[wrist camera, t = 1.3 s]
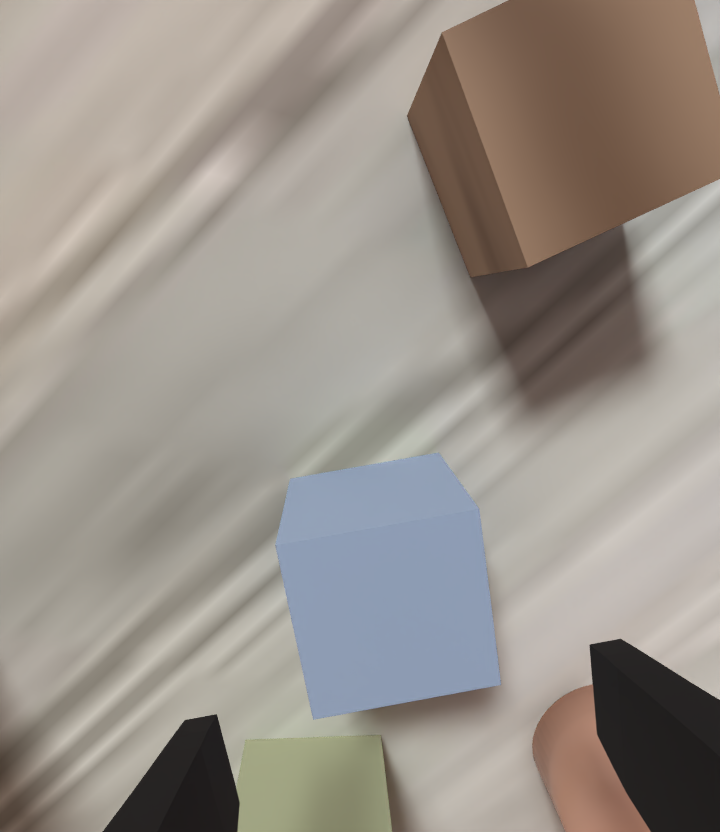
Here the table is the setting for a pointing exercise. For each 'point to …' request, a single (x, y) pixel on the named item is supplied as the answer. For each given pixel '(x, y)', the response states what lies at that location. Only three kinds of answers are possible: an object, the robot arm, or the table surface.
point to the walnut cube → (564, 122)
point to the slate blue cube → (386, 585)
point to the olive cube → (313, 785)
